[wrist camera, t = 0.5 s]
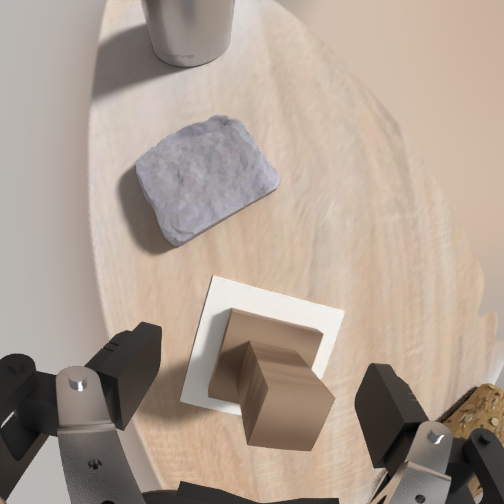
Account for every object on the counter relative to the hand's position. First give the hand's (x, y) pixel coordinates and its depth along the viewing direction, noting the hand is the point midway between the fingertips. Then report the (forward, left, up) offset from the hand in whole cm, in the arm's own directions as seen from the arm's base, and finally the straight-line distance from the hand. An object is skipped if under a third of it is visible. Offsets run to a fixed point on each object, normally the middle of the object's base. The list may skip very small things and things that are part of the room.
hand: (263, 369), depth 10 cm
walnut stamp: (+6, +5, -18) cm, 19 cm away
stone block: (-10, -6, -19) cm, 22 cm away
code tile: (+6, +5, -18) cm, 19 cm away
